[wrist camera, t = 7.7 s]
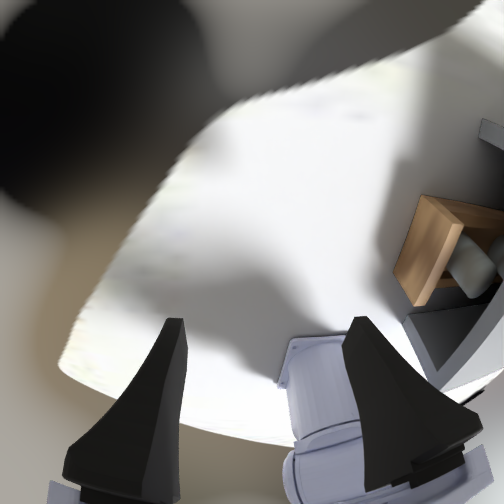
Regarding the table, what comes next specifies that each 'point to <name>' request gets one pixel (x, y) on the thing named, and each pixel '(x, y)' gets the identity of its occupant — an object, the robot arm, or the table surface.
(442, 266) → the teak tray
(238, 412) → the table surface
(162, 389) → the robot arm
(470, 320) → the grey low stand
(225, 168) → the table surface
